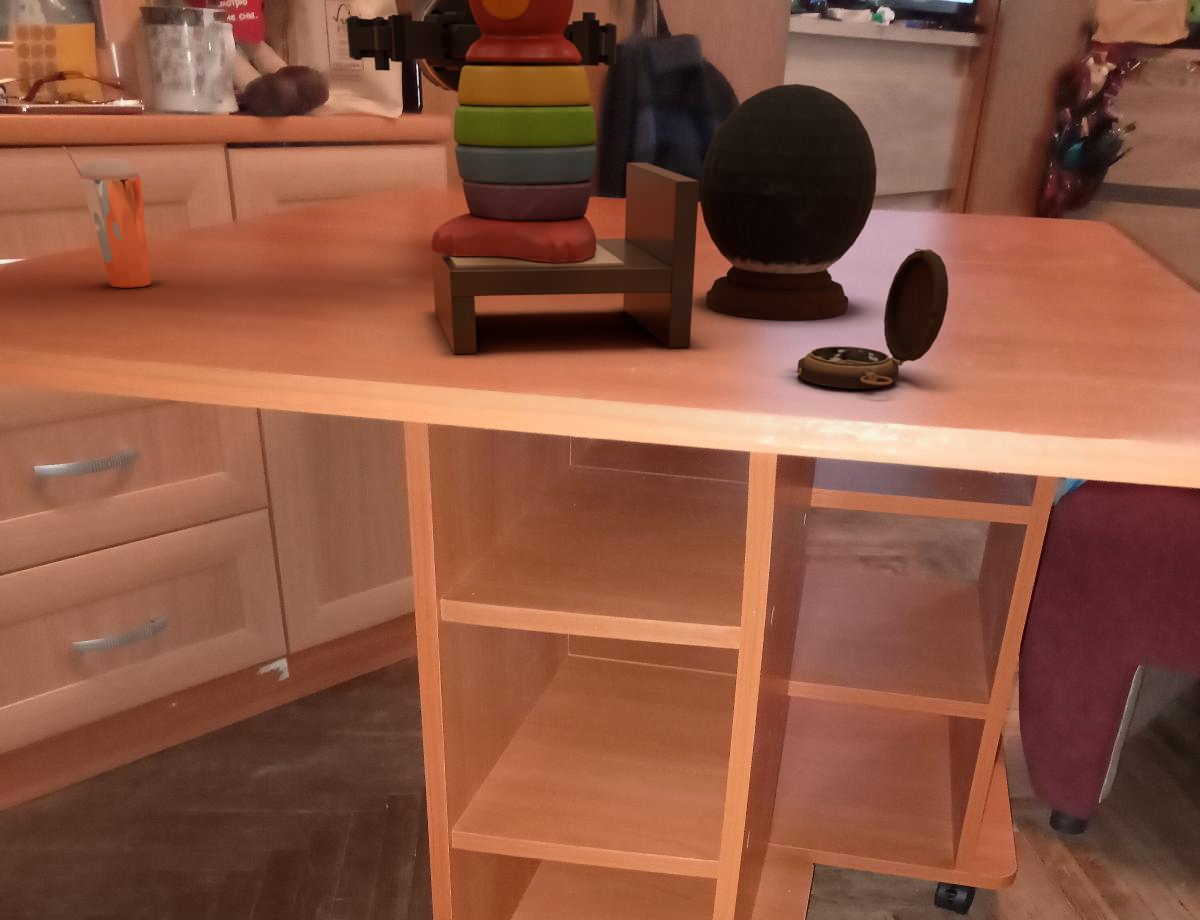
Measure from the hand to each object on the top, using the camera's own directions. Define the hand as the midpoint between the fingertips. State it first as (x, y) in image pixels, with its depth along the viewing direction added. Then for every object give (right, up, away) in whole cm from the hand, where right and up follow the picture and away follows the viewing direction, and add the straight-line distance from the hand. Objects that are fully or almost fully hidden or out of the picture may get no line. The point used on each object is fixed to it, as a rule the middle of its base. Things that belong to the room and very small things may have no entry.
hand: (498, 40), depth 80 cm
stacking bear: (+2, -15, -1) cm, 15 cm away
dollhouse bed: (+4, -19, +2) cm, 20 cm away
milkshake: (-32, -11, +15) cm, 37 cm away
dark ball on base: (+21, -14, +12) cm, 28 cm away
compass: (+23, -27, -9) cm, 37 cm away
